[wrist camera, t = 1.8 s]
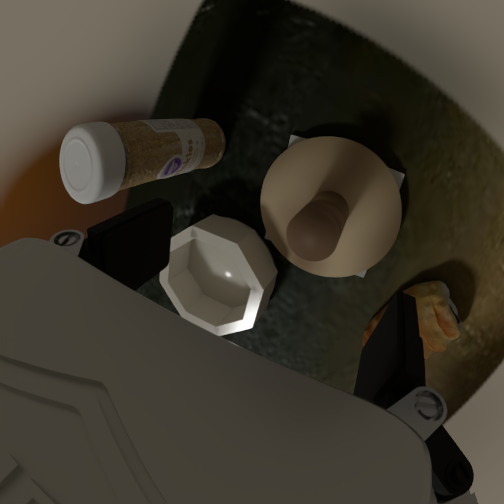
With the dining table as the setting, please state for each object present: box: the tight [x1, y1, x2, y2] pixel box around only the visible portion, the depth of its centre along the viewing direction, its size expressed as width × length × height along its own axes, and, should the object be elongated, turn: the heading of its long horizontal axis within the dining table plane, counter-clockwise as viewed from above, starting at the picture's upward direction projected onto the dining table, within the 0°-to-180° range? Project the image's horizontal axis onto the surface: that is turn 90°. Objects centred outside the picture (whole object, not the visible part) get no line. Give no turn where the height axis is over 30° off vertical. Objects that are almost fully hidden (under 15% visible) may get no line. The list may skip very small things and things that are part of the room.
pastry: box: [362, 281, 463, 358], centre depth 22 cm, size 9×7×4 cm
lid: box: [260, 136, 402, 277], centre depth 19 cm, size 11×11×7 cm
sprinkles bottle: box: [60, 118, 226, 204], centre depth 19 cm, size 5×5×14 cm
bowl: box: [160, 214, 278, 336], centre depth 27 cm, size 10×10×4 cm
